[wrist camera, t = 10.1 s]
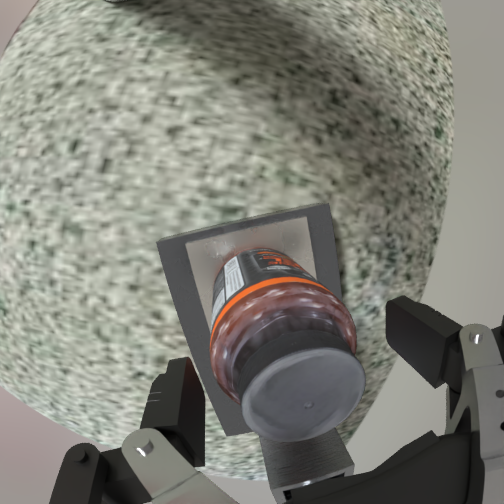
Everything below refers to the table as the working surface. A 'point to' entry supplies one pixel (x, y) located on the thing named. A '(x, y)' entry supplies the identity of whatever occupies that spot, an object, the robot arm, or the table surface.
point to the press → (200, 311)
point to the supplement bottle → (283, 347)
